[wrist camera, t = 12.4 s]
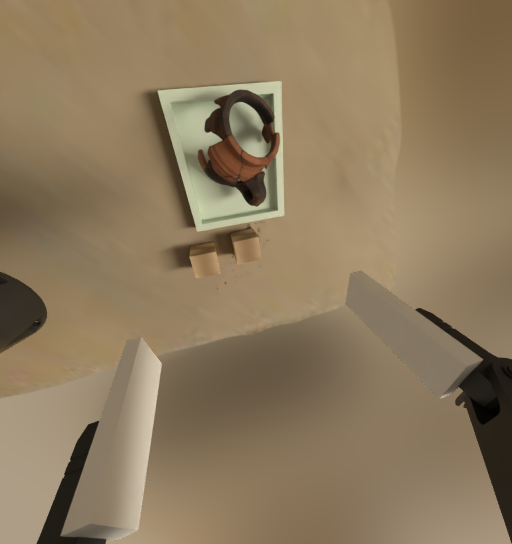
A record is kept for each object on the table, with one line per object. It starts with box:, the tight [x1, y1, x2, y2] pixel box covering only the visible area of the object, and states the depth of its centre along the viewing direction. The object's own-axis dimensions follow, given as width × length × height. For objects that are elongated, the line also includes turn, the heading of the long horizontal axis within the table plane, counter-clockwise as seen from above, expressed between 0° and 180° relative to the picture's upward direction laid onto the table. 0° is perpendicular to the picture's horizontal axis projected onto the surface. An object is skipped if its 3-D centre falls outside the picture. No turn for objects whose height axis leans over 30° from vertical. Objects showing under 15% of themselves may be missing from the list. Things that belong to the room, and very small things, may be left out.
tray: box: [157, 81, 284, 232], centre depth 27 cm, size 14×16×2 cm
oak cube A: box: [189, 242, 220, 278], centre depth 33 cm, size 4×4×4 cm
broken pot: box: [198, 89, 280, 207], centre depth 25 cm, size 12×9×8 cm
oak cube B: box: [230, 229, 261, 264], centre depth 33 cm, size 4×4×4 cm
